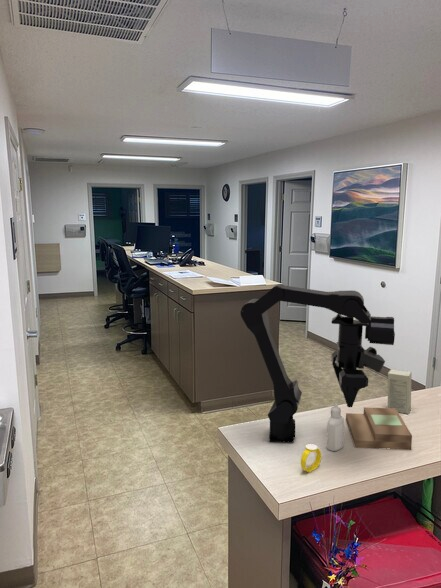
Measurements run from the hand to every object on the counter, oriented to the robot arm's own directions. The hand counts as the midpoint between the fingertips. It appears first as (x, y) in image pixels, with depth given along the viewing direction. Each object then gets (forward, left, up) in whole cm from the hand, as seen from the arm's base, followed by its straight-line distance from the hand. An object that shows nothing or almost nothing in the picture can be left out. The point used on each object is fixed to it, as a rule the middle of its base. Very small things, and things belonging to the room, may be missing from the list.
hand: (346, 399), depth 112 cm
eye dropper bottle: (-3, -1, -13) cm, 13 cm away
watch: (-10, -12, -13) cm, 20 cm away
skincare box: (+19, +23, -13) cm, 33 cm away
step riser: (+9, +7, -13) cm, 17 cm away
